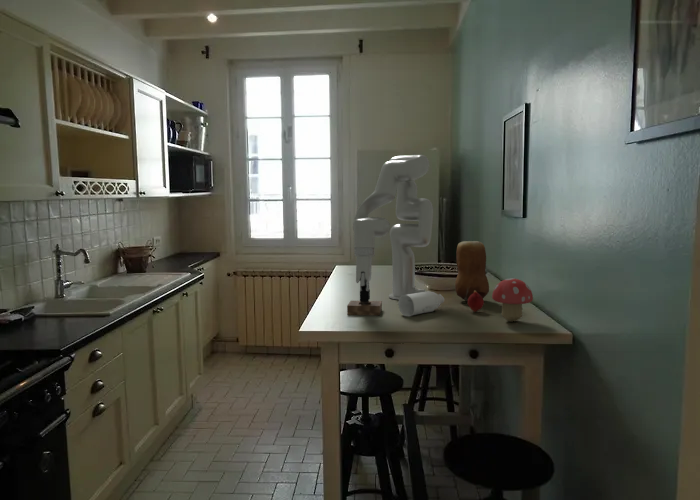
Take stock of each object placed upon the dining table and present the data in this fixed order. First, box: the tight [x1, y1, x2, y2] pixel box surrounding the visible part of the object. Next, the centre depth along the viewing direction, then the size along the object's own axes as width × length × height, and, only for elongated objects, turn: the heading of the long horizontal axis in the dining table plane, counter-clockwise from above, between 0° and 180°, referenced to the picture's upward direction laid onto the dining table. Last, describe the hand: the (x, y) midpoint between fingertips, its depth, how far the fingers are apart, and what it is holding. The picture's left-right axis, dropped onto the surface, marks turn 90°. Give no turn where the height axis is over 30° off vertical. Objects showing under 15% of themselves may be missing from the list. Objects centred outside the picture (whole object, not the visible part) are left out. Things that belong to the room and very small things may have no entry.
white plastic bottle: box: [397, 290, 445, 318], centre depth 194 cm, size 8×19×8 cm, turn 127°
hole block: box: [346, 300, 383, 317], centre depth 196 cm, size 12×9×4 cm
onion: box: [467, 291, 485, 313], centre depth 194 cm, size 6×6×8 cm
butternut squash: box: [454, 240, 490, 302], centre depth 212 cm, size 14×13×25 cm
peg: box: [361, 282, 370, 305], centre depth 195 cm, size 3×3×10 cm
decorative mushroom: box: [491, 277, 534, 323], centre depth 178 cm, size 13×13×15 cm
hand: (364, 300), depth 195 cm, fingers closed on peg, 3 cm apart
